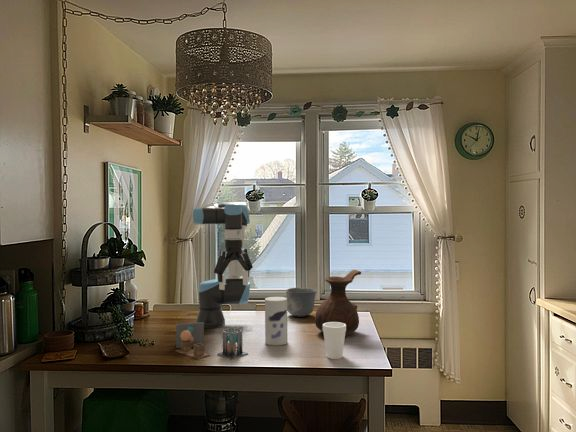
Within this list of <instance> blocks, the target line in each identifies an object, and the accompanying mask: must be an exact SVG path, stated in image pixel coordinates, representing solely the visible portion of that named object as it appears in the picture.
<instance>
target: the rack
mask: <svg viewBox="0 0 576 432" xmlns="http://www.w3.org/2000/svg"><path fill="white" fill-rule="evenodd" d="M175 352H176V353H179V354H183V355H185V356H187V357H191V358H194V359H197V360H199V359H204V358H207V357H210V356H211V354H209V353H205V343H204V344H201V343H198V344H194V347H193V348H192V347H191V340H189V341H183V340H182V341H181V348H180V349H179V348H178V349H176V350H175Z"/></svg>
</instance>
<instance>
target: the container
mask: <svg viewBox="0 0 576 432" xmlns="http://www.w3.org/2000/svg"><path fill="white" fill-rule="evenodd" d="M264 310H265V311H264V329H265V330H264V331H265V333H264V334H265V336H264V337H265V338H264V339H265V341H264V342H265V344H266V345H269V346H282V345H283V346H284V345H286V344H288V310H287V297H284V296H269V297H265V298H264Z"/></svg>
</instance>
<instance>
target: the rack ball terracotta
mask: <svg viewBox="0 0 576 432" xmlns="http://www.w3.org/2000/svg"><path fill="white" fill-rule="evenodd" d="M180 337H181V339H182V340H183V341H189V340H190V339H191V332H190V331H188V330H185V331H183V332H182V333H181V335H180Z"/></svg>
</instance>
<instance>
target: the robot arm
mask: <svg viewBox="0 0 576 432" xmlns="http://www.w3.org/2000/svg"><path fill="white" fill-rule="evenodd" d="M192 221H193V224H194V225H201V226H202V225H224V239H225V240H224V247H225V251H224V250H220V251H219V257H218V259H217V262H216V265H215V267H214V270H213V274H216V275H217V279H216V278H215V279H209V280H205V281H202V282H200V283H199V286H198V312H197V313H198V314H197V316H196V319H195V323H202V322H204V329H215V328H221V327H224V326H225V325H226V319H225V317H224V313H223V309H222V305H223V306H224V305H229V306H230V305H245V304H247V303H248V302H249V298H250V290H251V281H249V278H250V272H251V270H252V269H253V268H254V266H253V264H252V262H251V259H250V256H249V254H248V249H247V248H245V230H246V229H247V228H248V225H249V224H250V221H251V220H250V214H249V207H248V204H247V203H246V202H243V201H242V202H241V201H237V202H236V201H233V202H231V201H229V202H226V201H225V202H222V201H221V202H214V203H210V204H207V205H204V207H194V208H193V209H192ZM227 268H228V272H227V274H228V275H227V276H225V274H224V273H225V271H226V269H227ZM225 277H226V278H225Z"/></svg>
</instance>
